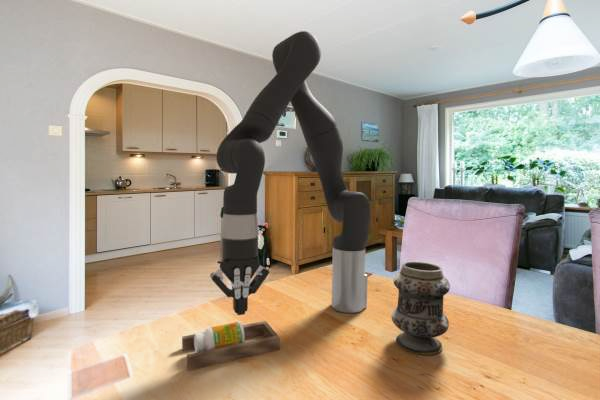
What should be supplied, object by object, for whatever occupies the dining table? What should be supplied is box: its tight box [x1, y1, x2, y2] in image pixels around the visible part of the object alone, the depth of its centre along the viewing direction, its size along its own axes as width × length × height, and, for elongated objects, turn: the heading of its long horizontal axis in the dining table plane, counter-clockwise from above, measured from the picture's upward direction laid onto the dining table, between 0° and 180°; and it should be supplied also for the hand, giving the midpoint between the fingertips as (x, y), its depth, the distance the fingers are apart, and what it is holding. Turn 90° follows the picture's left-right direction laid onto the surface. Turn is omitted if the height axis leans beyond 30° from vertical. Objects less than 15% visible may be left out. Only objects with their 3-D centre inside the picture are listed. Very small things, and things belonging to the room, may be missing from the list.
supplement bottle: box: [194, 321, 246, 353], centre depth 70 cm, size 5×5×10 cm
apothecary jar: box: [391, 260, 451, 356], centre depth 74 cm, size 12×12×18 cm
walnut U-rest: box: [181, 320, 281, 372], centre depth 71 cm, size 19×9×3 cm, turn 116°
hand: (240, 313), depth 71 cm, fingers closed
